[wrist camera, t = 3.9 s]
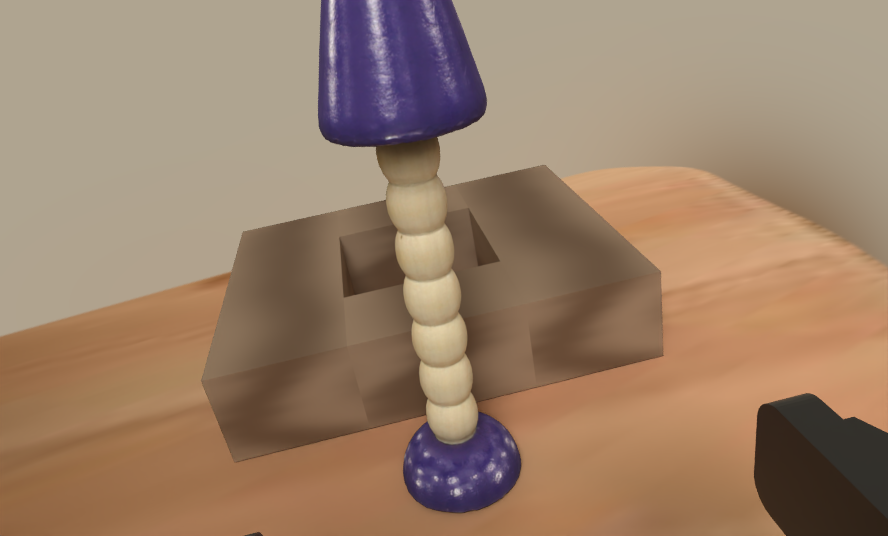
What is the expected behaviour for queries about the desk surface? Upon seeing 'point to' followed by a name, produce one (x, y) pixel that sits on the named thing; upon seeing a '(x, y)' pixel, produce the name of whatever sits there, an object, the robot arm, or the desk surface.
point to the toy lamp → (419, 218)
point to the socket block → (390, 324)
